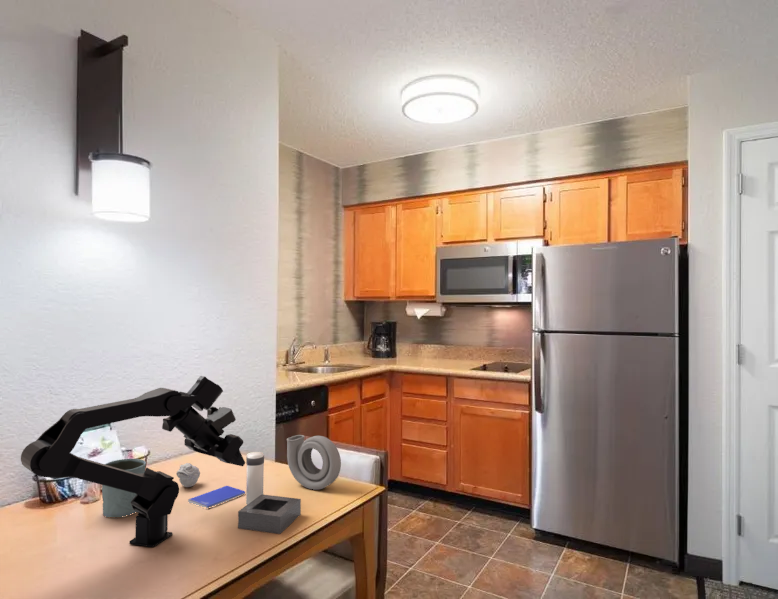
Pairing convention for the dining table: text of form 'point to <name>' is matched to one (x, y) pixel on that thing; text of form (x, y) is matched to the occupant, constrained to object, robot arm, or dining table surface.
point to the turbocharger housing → (304, 466)
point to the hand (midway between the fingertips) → (233, 460)
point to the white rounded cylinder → (254, 475)
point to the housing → (269, 513)
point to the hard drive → (216, 496)
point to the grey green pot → (120, 500)
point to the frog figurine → (188, 475)
